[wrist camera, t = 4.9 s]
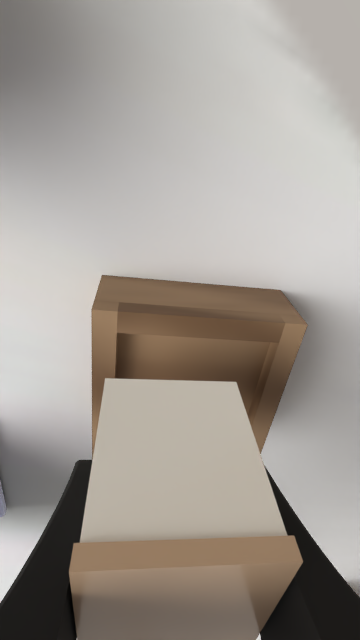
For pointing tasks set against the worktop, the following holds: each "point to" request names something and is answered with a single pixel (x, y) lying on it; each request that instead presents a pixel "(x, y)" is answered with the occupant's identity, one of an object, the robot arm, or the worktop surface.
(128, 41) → the worktop surface
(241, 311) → the wooden square tray
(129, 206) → the worktop surface
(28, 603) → the robot arm
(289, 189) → the worktop surface
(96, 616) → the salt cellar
